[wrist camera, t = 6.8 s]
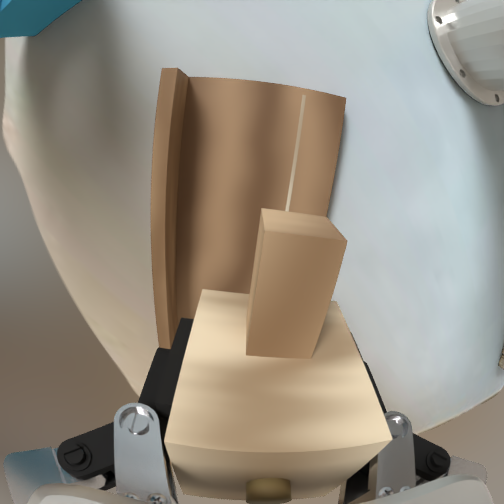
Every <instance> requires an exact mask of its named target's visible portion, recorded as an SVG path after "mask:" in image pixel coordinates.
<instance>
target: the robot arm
mask: <svg viewBox="0 0 504 504" xmlns="http://www.w3.org/2000/svg"><path fill="white" fill-rule="evenodd" d="M427 16H428V26H429V31H430V34H431V37H432V40H433V43H434V45H435V47H436V50H437V52H438V54H439V56H440V58H441V60H442V62H443V63H444V65H445V67H446V68H447V70H448V71H449V73H450V74H451V76H452V77H453V78H454V80H455V81H456V82H457V83H458V85H459V86H460V87H461V88H462V89H463V90H464V91H465V92H466V93H467V94H468V95H469V96H471V97H472V98H473V99H474V100H476V101H478V102H480V103H482V104H485V105H493V106H498V105H501V104H503V103H504V0H432V1H431V3H430V4H429V8H428V12H427ZM193 322H194V319H190V318H183V317H182V318H181V319H180V322H179V325H178V328H177V331H176V334H175V337H174V340H173V344H172V347H171V349H166V348H160V347H159V348H158V349H157V351H156V353H155V356H154V359H153V361H152V364H151V367H150V370H149V372H148V375H147V378H146V381H145V384H144V387H143V389H142V392H141V395H140V398H139V401H138V403H130V404H127V405H124V406H122V407H121V408H120V409H119V410H118V411H117V413H116V414H115V418H114V422H112V423H110V424H107V425H105V426H102V427H100V428H97V429H95V430H92V431H89V432H87V433H84V434H82V435H79V436H76V437H74V438H71V439H68V440H66V441H64V442H62V443H61V445H60V446H59V448H55V449H52V447H47V448H42V449H36V450H30V451H23V452H16V453H11V454H8V455H7V457H6V458H5V460H4V470H5V475H6V479H7V482H8V486H9V490H10V493H11V496H12V500H13V503H14V504H179V501H178V497H177V491H176V486H175V482H174V476H173V471H172V465H171V461H170V458H169V455H168V452H167V449H166V446H165V443H164V439H165V434H166V430H167V425H168V421H169V416H170V412H171V408H172V404H173V399H174V395H175V391H176V387H177V383H178V379H179V375H180V371H181V367H182V363H183V359H184V355H185V351H186V348H187V344H188V340H189V336H190V333H191V329H192V325H193ZM350 333H351V332H350ZM351 335H352V333H351ZM352 337H353V335H352ZM353 340H354V338H353ZM354 342H355V340H354ZM355 344H356V342H355ZM356 347H357V344H356ZM357 349H358V347H357ZM358 351H359V349H358ZM359 354H360V351H359ZM360 356H361V354H360ZM361 358H362V356H361ZM362 361H363V358H362ZM363 363H364V366H365V368H366V370H367V373H368V375H369V378H370V380H371V383H372V385H373V388H374V390H375V393H376V395H377V398H378V401H379V403H380V406H381V408H382V411H383V414H384V417H385V419H386V422H387V425H388V428H389V430H390V433H391V436H392V440H391V441H390V442H389V443H388V444H387V445H386V446H385V447H384V448H383V449H382V450H381V451H380V452H379V453H378V454H377V455H376V456H375V457H373V458H372V459H371V460H370V461H369V462H368V463H367V464H365V465H364V466H363V467H362V468H361V469H360V470H358V471H357V472H356V473H355V474H353V475H352V476H351V477H350V478H348V479H347V480H346V481H345V482H343V483H342V484H341V487H340V494H339V501H338V504H494V503H493V500H492V497H491V495H490V493H489V491H488V489H487V487H486V480H487V471H486V468H485V467H484V466H483V465H481V464H479V463H476V462H472V461H469V460H465V459H462V458H459V457H455V456H451V457H450V456H449V454H448V453H447V451H446V450H444V449H443V448H442V447H439V446H437V445H435V444H433V443H431V442H429V441H427V440H425V439H423V438H421V437H419V436H417V435H416V434H414V433H413V432H412V426H411V422H410V421H409V419H408V418H407V417H406V416H405V415H403V414H401V413H400V412H395V411H390V412H387V411H386V409H385V406H384V404H383V401H382V399H381V396H380V394H379V391H378V389H377V386H376V384H375V381H374V379H373V376H372V374H371V372H370V369H369V367H368V365H367V363H366V362H364V361H363ZM115 486H116V491H117V494H114V493H111V492H108V491H105V490H108V489H110V488H113V487H115Z"/></svg>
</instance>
